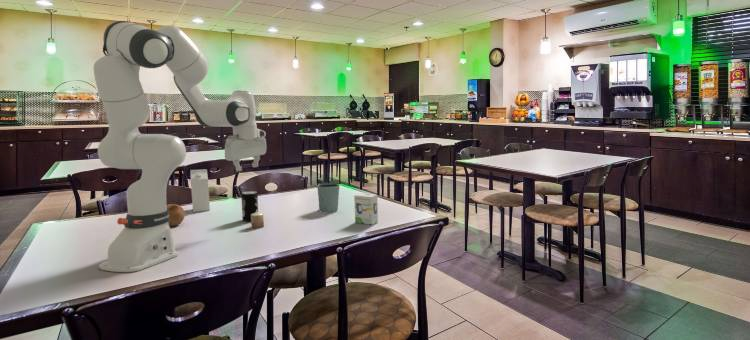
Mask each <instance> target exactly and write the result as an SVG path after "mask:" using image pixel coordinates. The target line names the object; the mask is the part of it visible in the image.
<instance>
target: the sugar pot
mask: <svg viewBox="0 0 750 340" xmlns="http://www.w3.org/2000/svg"><path fill="white" fill-rule="evenodd" d="M264 219H265V218H264V213H263V212H258V213H252V214H251V222H250V225H251V229H255V230H256V229H262V228H264V226H265V224H264V223H265V221H264Z"/></svg>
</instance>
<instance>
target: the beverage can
mask: <svg viewBox="0 0 750 340" xmlns="http://www.w3.org/2000/svg"><path fill="white" fill-rule="evenodd" d="M257 193H258V192H257V191H255V190H248V191H243V192H241V214H242V215H241V217H242V218H241V219H242V220H243V222H246V223H248V222H249V223H251V214H252V213H259V197H258V194H257Z"/></svg>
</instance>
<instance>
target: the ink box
mask: <svg viewBox="0 0 750 340" xmlns="http://www.w3.org/2000/svg"><path fill="white" fill-rule="evenodd" d="M353 198H354V222H358V223H357V224H362V223H364V225H370V224H371V225H372V226H374V225H375V224H377V223H378V222H379V214H378V213H379V210H378V209H379V208H378V206H379V204H378V201H379V200H378V195H377V193H375V194H374V193H365V192H359V193H357V194H355V195H354V196H353Z"/></svg>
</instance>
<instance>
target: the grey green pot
mask: <svg viewBox="0 0 750 340" xmlns="http://www.w3.org/2000/svg"><path fill="white" fill-rule="evenodd" d="M316 187H317V195H318V210H319V212H320V211H321V212H320V213H323V212H332V213H335V212H334V211H336V212H338V211H337V210H339V200H340V199H339V198H340V197H339V196H340V184H338V183H319V184H317V185H316Z"/></svg>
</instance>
